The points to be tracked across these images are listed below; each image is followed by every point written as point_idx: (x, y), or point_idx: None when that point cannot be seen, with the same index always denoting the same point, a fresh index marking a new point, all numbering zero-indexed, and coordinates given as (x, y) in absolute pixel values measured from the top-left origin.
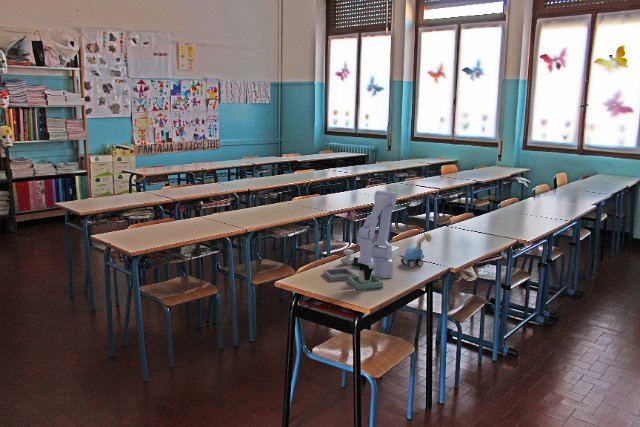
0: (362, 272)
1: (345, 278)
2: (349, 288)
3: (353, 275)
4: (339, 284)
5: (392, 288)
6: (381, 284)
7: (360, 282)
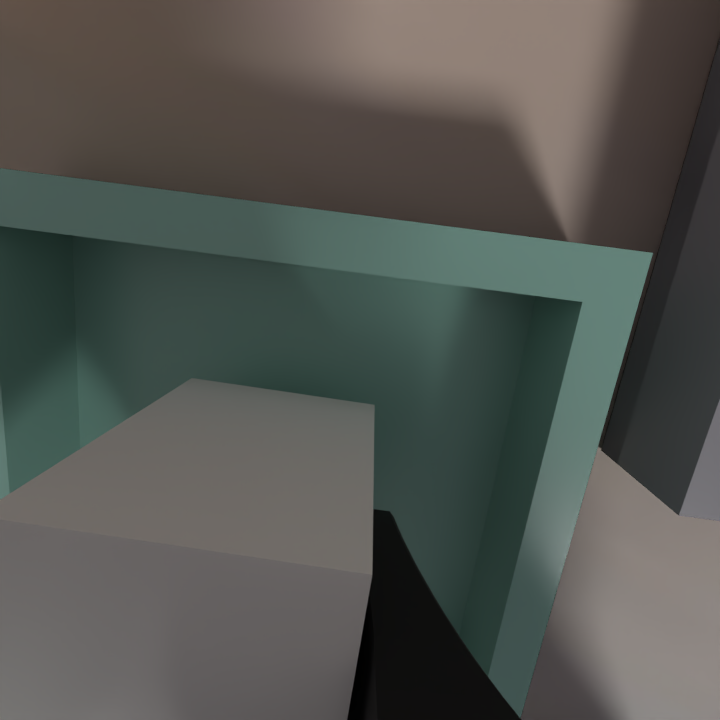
0: (20, 570)
1: (716, 235)
2: (245, 102)
3: (691, 449)
4: (574, 18)
5: None
6: None
7: (391, 436)
